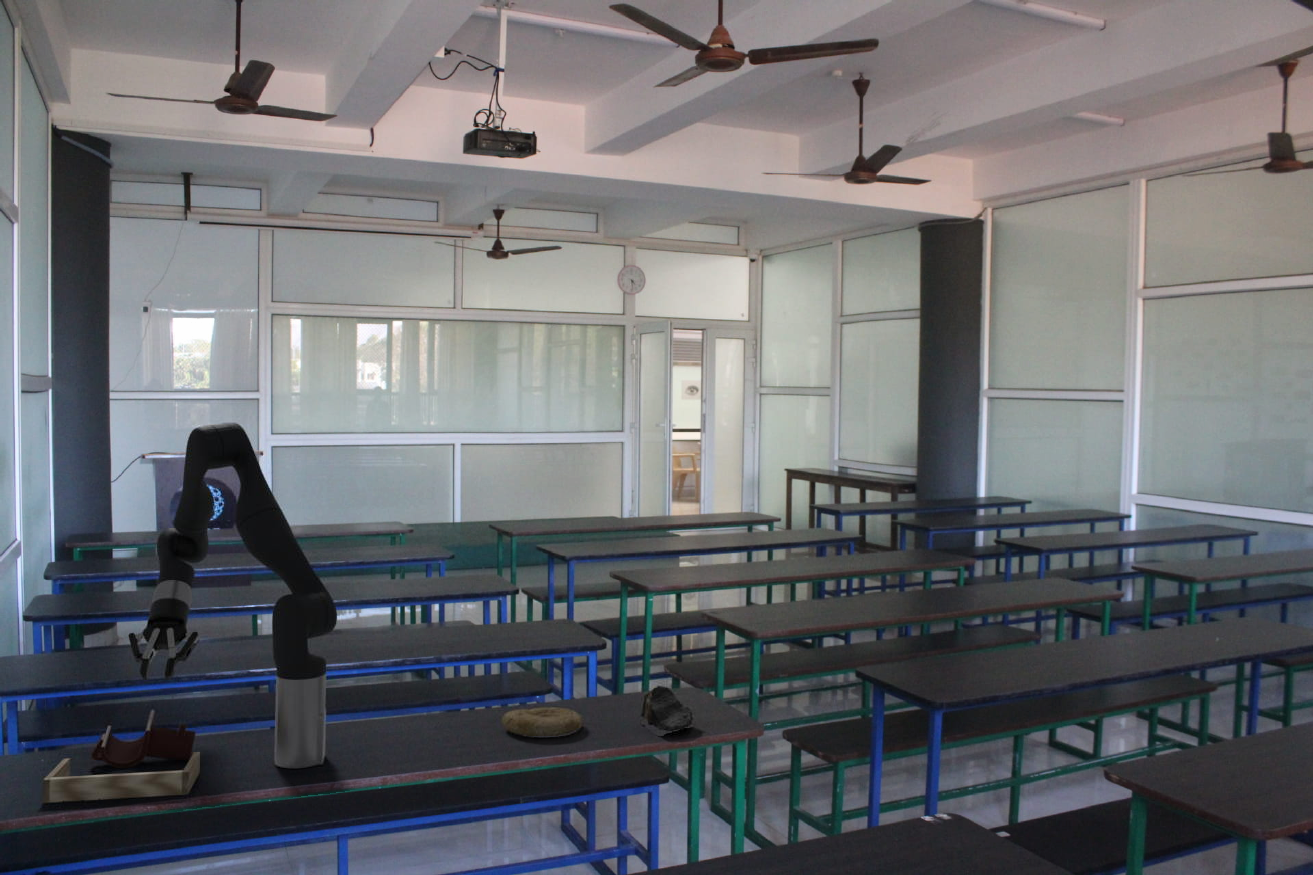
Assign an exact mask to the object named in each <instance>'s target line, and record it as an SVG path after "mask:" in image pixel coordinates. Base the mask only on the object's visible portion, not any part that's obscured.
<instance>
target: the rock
mask: <svg viewBox="0 0 1313 875" xmlns="http://www.w3.org/2000/svg"><path fill="white" fill-rule="evenodd" d="M640 716H642V717H644V719H645V721H646V722H647V723H648V724H649V725H654V726H655V727H657V728H658V729H659V730H666V731H673V730H678V729H682V728H685V727H688V726H690V725H691V724H692V720H693V721H694V717H693V712H692V710H691V708H690V707H689V706H687V705H684V704H683V703H682V702H681V701H680V699H678V698H677V697H676V695H675V693H674V692H673V691H672V690H671V688H670V687H667V686H662V685H657V686H656V687H654V688H652V690H651V691H648V692H646V693H645V694H644V697H643V704H642V708H641V713H640ZM640 716H639V717H640ZM685 729H686V728H685ZM682 730H683V729H682Z"/></svg>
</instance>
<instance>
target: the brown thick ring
mask: <svg viewBox="0 0 1313 875" xmlns="http://www.w3.org/2000/svg"><path fill="white" fill-rule="evenodd" d="M501 724H502V727H503V728H504V729H505V730H506V731H508V730H509V731H508V732H509V733H512V732H513V733H512V734H515V733H516V734H515V735H517V734H521V735H526V736H555V735H556V736H558V735H562V734H563V735H564V734H569V733H572V732H575V731H577V730H578V729H580V728H581V727H582V728H583V725H584V717H583V716H582V715H581V714H580V713H578V712H577V711H575V710H571V709H568V708H563V707H557V706H555V707H538V708H531V709H513V710H510V711H508V712H506V713H504V715H503V716H502V719H501ZM582 728H581V729H582ZM581 729H580V730H581ZM521 735H520V736H521ZM526 736H525V737H526Z"/></svg>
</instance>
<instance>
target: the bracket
mask: <svg viewBox="0 0 1313 875" xmlns="http://www.w3.org/2000/svg"><path fill="white" fill-rule="evenodd" d="M155 714H156V711H155V709H151V710H150V712H149V716H148V720H147V724H146V728H145V732H144V734H143V735H142V736H141V737H140V738H138V739H135V740H132V741H124V740H120V739H118V738H116V737H115V736H114V734H113V733H112V726H111V725H108V726H107V729H106V732H105V733H103V734H102V735H101V736H100V738H99V739H98V741H97V742H96V744H95V745H94V747H93V748H92V752H91V758H92V759H93V761H96V762H97V761H100V762H104V763H106V764H107V765H108V766H110V767H113V768H117V769H123V768H132V767H135V766H137V765H139V764H140V763H141V762H143V760H144V759H145V758H146V757H148V758H149V757H150V758H156V759H157V758H158V759H167V760H177V761H179V760H180V761H188V762H189V760H190V758H191V756H192V755H191V754H192V751H193V747H194V743H195V737H196V732H197V731H196V730H186V729H187V726H188V724H187V723H181V722H180V723H179V726H178V728H169V727H159V726H158V727H157V726H153V725H154V722H155V720H154V719H155Z"/></svg>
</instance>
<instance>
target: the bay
mask: <svg viewBox="0 0 1313 875" xmlns="http://www.w3.org/2000/svg"><path fill="white" fill-rule="evenodd" d="M200 762H201V751H193V753H192V755H191V756H190V759H189V761H188V762H187V764H186V765H185V767H184V768H183V770H182V769H181V770H165V771H148V772H147V771H146V772H131V773H128V772H127V773H110V774H108V773H107V774H95V775H94V774H93V775H92V774H91V775H75V776H74V775H73V776H71V758H70V757H69V758H63V759H62V760H61V761H60V762H59V763H58V764H57V765H56V767H55V768H53V769H52V771H50V772H49V774H47V776H46V777H45V778H43V782H42V784H43V785H42V786H43V787H42V788H43V789H42V790H43V791H42V803H43V804H47V803H48V804H49V803H63V801H64V803H65V801H66V802H81V800H82V801H83V800H84V801H99V799H100V801H101V800H115V799H117V800H118V799H128V798H129V799H131V798H132V799H133V798H134V799H135V798H146V797H147V798H149V797H151V798H152V797H165V796H179V795H181V796H183V795H184V796H185V795H189V793H190V792H191V789H192V787H193V785H194V784H195V782H196V780H197V779H198V776H199V775H200V773H201V772H200V769H201V767H200V766H201V765H200Z"/></svg>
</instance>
